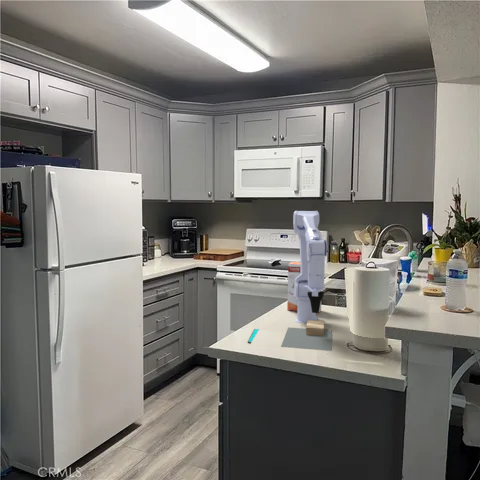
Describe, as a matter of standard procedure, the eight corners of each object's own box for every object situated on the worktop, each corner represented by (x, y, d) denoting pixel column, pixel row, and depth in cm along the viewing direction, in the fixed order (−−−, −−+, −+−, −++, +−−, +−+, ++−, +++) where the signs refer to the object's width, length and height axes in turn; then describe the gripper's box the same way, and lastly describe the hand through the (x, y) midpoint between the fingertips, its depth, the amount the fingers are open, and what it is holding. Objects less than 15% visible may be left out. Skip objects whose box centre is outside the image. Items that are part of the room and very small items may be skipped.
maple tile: (305, 334, 146) (307, 326, 155) (323, 335, 144) (324, 327, 154) (306, 327, 145) (307, 319, 155) (323, 328, 144) (324, 321, 154)
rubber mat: (288, 328, 154) (288, 327, 154) (332, 331, 151) (332, 330, 151) (280, 348, 133) (280, 346, 133) (332, 352, 129) (332, 350, 129)
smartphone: (247, 341, 137) (254, 328, 152) (247, 344, 138) (254, 331, 152) (269, 343, 136) (274, 330, 151) (269, 345, 136) (274, 332, 151)
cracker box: (286, 310, 181) (287, 263, 180) (290, 307, 187) (291, 261, 185) (318, 313, 176) (319, 264, 174) (321, 310, 182) (322, 263, 180)
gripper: (305, 270, 153) (305, 307, 154) (303, 277, 139) (302, 317, 140) (325, 271, 152) (324, 308, 153) (324, 278, 137) (323, 318, 138)
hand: (315, 312), depth 146 cm, fingers closed
